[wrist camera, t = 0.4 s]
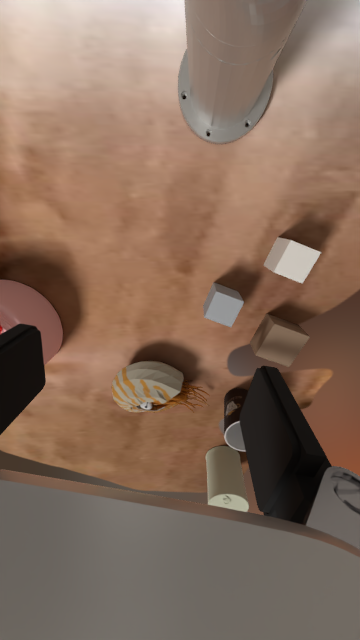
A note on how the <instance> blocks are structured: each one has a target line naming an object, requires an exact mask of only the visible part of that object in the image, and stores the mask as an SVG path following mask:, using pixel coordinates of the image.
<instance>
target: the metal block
mask: <svg viewBox="0 0 360 640" xmlns="http://www.w3.org/2000/svg"><path fill="white" fill-rule="evenodd" d="M309 338H310V336H309V335H308V334H307V333H306V332H305V331H304V330H303V329H302V328H301V327H300V326H299V325H296V324H294V323H291V322H288V321H286V320H283V319H280V318H278V317H275V316H272V315H270V314H267V313H266V315H265V317H264V319H263V320H262V322H261V324H260V326H259V327H258V329H257V331H256V333H255V334H254V336H253V338H252V340H251V341H250V344H251V346H252V348H253V351H254V353H255V355H257V356H259V357H262V358H265V359H268V360H270V361H273V362H276V363H279V364H282V365H285V366H287V367H289V366H290V365H291V364H292V362H293V361H294V359H295V358H296V356H297V355H298V354H299V352H300V351H301V349H302V348H303V346H304V345H305V343H306V342H307V340H308V339H309Z"/></svg>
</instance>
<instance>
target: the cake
mask: <svg viewBox="0 0 360 640" xmlns="http://www.w3.org/2000/svg"><path fill="white" fill-rule="evenodd" d="M18 324H27V325H33V326H36V327H37V329H38V330H39V331H40V332H41V339H42V349H43V359H44V365H45V364H46V363H47V362H48V361H49V360H50V359H51V358H52V357H54V355H55V354H56V353H57V352H58V351H59V349H60V347H61V344H62V339H63V329H62V325H61V321H60V318H59V316H58V314H57V312H56V311H55V309H54V308H53V306H52V305H51V303H50V302H49V301H48V300H47V299H46V298H45V297H43V296H42V295H41V294H40V293H39V292H37V291H36V290H34V289H33V288H31V287H29V286H26V285H24V284H22V283H19V282H16V281H11V280H0V334H2V333H4V332H6V331H7V330H9V329H11V328H12V327H14V326H16V325H18Z"/></svg>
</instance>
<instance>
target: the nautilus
mask: <svg viewBox="0 0 360 640" xmlns="http://www.w3.org/2000/svg"><path fill="white" fill-rule="evenodd" d="M185 381H188V380H185ZM182 383H183V384H186V383H187V382H184V377H183V373H182V372H180V371H178V370H177V369H175V368H173V367H172V366H170V365H167V364H165V363H162V362H158V361H143V362H138V363H134V364H132V365H129V366H126V367H125V368H123V369H122V370H121V371H120V372H119V373H118V374H117V375H116V377H115V379H114V380H113V383H112V392H113V399H114V400H115V402H116V403H117V404H118V405H119V406H121V407H122V408H123V409H125V410H127V411H131V412H154V413H155V412H161V411H164V410H167V409H170V408H172V407H174V406H176V405H178V404H182V403H181V402H184V403H186V402H187V403H186V404H188V405H190V404H191V406H192V405H198V404H192V403H190V402H188V401H186V400H188V399H196V397H198V396H196V395H197V394H198V395H200V394H199V393H197V392H196V391H194V390H193V389H198V388H203V387H195V386H190V385H189V384H188V383H187V384H188V385H187V384H186V385H187V386H186V385H182ZM191 387H192V388H191ZM186 388H187V389H186ZM189 388H191V389H192V390H191V389H189ZM198 390H200V389H198ZM200 391H202V390H200ZM187 392H188V393H187ZM189 392H194V394H192V393H189ZM202 392H204V391H202ZM196 393H197V394H196ZM204 393H206V392H204ZM187 394H189V397H190V394H192V395H194V396H196V397H193V398H189V397H187V396H188V395H187ZM195 394H196V395H195ZM206 394H207V393H206ZM208 395H209V394H208ZM200 396H202V395H200ZM202 397H203V396H202ZM198 398H200V397H198ZM203 398H204V397H203ZM200 399H202V398H200ZM204 399H205V398H204ZM196 400H198V399H196ZM202 400H203V399H202ZM205 400H206V399H205ZM185 401H186V402H185ZM198 401H200V400H198ZM203 401H204V400H203ZM206 401H207V400H206ZM200 402H202V401H200ZM202 403H205V404H206V402H205V401H204V402H202ZM186 404H182V405H185V406H187V405H186ZM207 405H208V404H207ZM198 406H201V405H198ZM187 407H188V406H187ZM192 407H194V406H192ZM202 407H203V406H202ZM188 408H189V407H188ZM194 408H195V407H194ZM189 409H190V408H189ZM190 410H192V409H190ZM192 411H193V410H192ZM193 413H194V411H193Z"/></svg>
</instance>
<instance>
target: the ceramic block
mask: <svg viewBox="0 0 360 640" xmlns="http://www.w3.org/2000/svg"><path fill="white" fill-rule="evenodd" d="M320 254H321V252H319V251H316V250H314V249H312V248H309V247H307V246H304V245H302V244H299V243H297V242H294V241H292V240H288V239H283V238H279V237H277V239H276V241H275V243H274V245H273V247H272V249H271V251H270V253H269V255H268V257H267V259H266V261H265V263H264V266H265V267H267V268H268V269H270V270H271V271H273V272H275V273H277V274H280V275H282V276H285V277H287V278H290V279H292V280H295V281H298V282H300V283H303V282H304V280H305V278H306V277H307V275H308V274H309V272H310V270H311V269H312V267H313V265H314V264H315V262H316V260H317V259H318V257H319V255H320Z"/></svg>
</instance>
